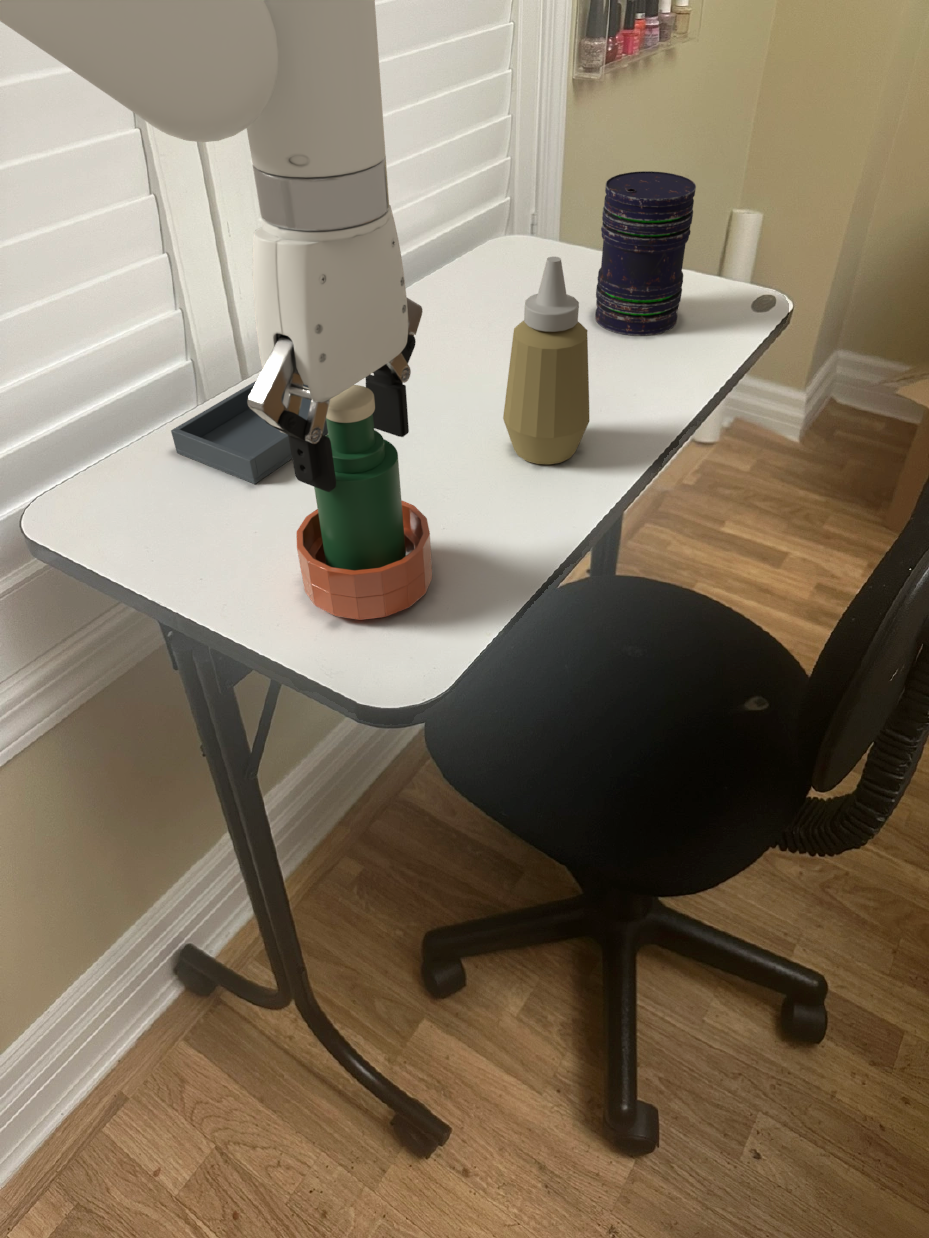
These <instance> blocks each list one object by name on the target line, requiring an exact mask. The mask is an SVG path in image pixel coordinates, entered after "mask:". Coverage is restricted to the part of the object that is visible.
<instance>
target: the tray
mask: <svg viewBox="0 0 929 1238" xmlns="http://www.w3.org/2000/svg"><path fill="white" fill-rule="evenodd" d="M256 381H257V379H256V380H255V381H253V382H251V383H250V384H248V385H246V386H245V387H243V388H241V389H239V390H238V391H236V392H234V393H233V394H231V395H229V396H227V397H226V398H224V399H222V400H220V401H219V402H217V403H215V404H214V405H212V406H210V407H208V408H206V409H204V410H203V411H202V412H200V413H198V414H197V415H194V416H193V417H191V418H190V419H188V420H186V421H185V422H183V423H181V424H179V425H178V426H176V427H174V428H172V429H171V430H170V433H171V436H172V440H173V444H174V447H175V448H174V449H175V452H176V454H179V455H181V456H183V457H186V458H188V459H191V460H193V461H196V462H197V463H201V464H203V465H206V466H208V467H211V468H213V469H216V470H217V471H221V472H223V473H226V474H228V475H231V476H234V477H235V478H238V479H240V480H244V481H246V482H248V483H251V484H254V485H255V484H257V483H259V482H260V481H261V480H263V479H265V478H267V476H270V475H271V474H272V473H273V472H275V471H276V470H278V469H279V468H281V467H282V466H283V465H285V464H286V463H288V462H289V461H291V460H292V455H291V449H290V443H289V437H288V435H287V434H285V433H282V432H280V431H279V430H278V429H276V428H274V427H272V426H270V425H269V424H267V423H266V422H265V419H262V418H261V417H260V416H259V415H258V414H256V413H255V412H254V411H253V410H252V409H250V408H249V406H248V403H247V401H248V397H249V395H250V393H251V391H252V389H253V387H254V385H255V383H256ZM303 386H304V387H307V388H308V385H304V384H303ZM284 394H285V391H284V393H283V395H282V403H283V398H284ZM310 404H311V400H308V399H305V398H302V402H301V407H300V411H299V416H301V417H302V418H304V419H306V420H307V417H308V413H309V409H310ZM322 435H324V436H327V435H328V429H327V422H326V421H325V425H324V429H323V434H322Z"/></svg>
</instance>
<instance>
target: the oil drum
mask: <svg viewBox="0 0 929 1238" xmlns="http://www.w3.org/2000/svg"><path fill="white" fill-rule="evenodd" d="M604 188H605V189H604V192H605V193H604V194H605V196H604V201H603V203H604V204H603V208H602V212H601V213H602V216H601V221H602V225H601V228H600V231H601V238H602V251H601V252H602V253H601V262H600V263H601V264H600V268H599V269H598V273H597V284H596V290H595V291H596V292H595V298H596V301H595V302H596V303H595V306H596V309H595V313H594V319H595V322H596V323H597V324H598V325H599V326H600V327H602V328H603V329H605V330H607V331H610V332H611V333H616V334H619V335H624V336H634V337H642V336H643V337H645V336H646V337H647V336H655V335H661V334H663V333H666V332H668V331H670V330H671V329H673V328H674V327H675V326H676V324H677V322H678V321H677V320H678V310H679V308H680V303H681V300H682V293H683V283H684V272H683V264H684V258H685V257H684V256H685V249H686V244H687V243H688V241H689V239H690V236H691V227H692V223H693V216H694V204H695V203H694V202H695V199H694V197H695V196H696V190H697V185H696V183H695V182H694V181H693V180H692V179H690V178H688V177H685V176H683V175H680V174H676V173H672V172H671V173H670V172H664V171H653V170H652V171H651V170H649V171H648V170H645V171H644V170H643V171H631V172H624V173H619V174H616V175H613V176H611V177H610V178H608V179H607V180H606V182H605V187H604Z"/></svg>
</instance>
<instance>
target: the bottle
mask: <svg viewBox="0 0 929 1238" xmlns="http://www.w3.org/2000/svg"><path fill="white" fill-rule="evenodd" d="M374 410H375V401H374V394H373V392H372V391H371V390H370V389H368V388H366V386H364V385H359V384H354V385H353V386H351V387H350V388H348V389H346V390H345V391H343V392H342V393H340V394H338V395H337V396H335V397H333V398H331V399H330V403H329V407H328V412H327V416H326V422H327V429H328V434H327V435H326V436H327V437H328V438H330V441H331V447H332V455H333V462H334V470H335V477H336V487H335V488H334V489H333V490H332V491H330V492H327V491H324V490H321V489H319V488H316V487H314V486H313V488H314V494H315V495H314V496H315V499H316V500H315V501H316V507H317V508H316V509H318V515H319V521H320V528H321V534H322V541H323V547H324V553H325V560H326V565H328V566H330V567H334V568H341V569H348V570H364V569H373V568H380V567H383V566H386V565H388V564H391V563H394V562H396V561H399V560H402V559H403V558H404V557H405V556H406V551H405V539H404V526H403V513H402V501H403V500H402V489H401V488H402V487H401V478H400V477H401V474H400V465H399V464H400V463H399V452H398V450H397V448H396V446H395V445H394V444H393V443H392V442H390V441H389V440H386V439H384V437H383V435H382V434H381V433H380V432H378V430H376V429H375V428H374V421H373V412H374Z"/></svg>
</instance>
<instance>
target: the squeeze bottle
mask: <svg viewBox="0 0 929 1238" xmlns="http://www.w3.org/2000/svg"><path fill="white" fill-rule="evenodd" d="M579 308H580V302H579V301H578V299H576V297H574V296H573V295H570V294H568V293H567V289H566V282H565V275H564V271H563V262H562V257H559V256H549V257H547V258H546V261H545V264H544V269H543V273H542V277H541V280H540V284H539V289H538V292H537V293H536V294H532V295H530V296H529V297H528V298H527V299H525V301H524V311H523V320H522V321H521V322H519V324H517V325H516V326H515V327H514V328H513V333H512V342H511V350H510V357H509V367H508V374H507V383H506V391H505V399H504V400H505V401H504V407H503V416H502V419H503V422H504V426H505V427H506V431H507V434H508V436H509V440H510V442H511V445H512V448H513V451H514V452H515V454H516V455H517V456H518V457H519V458H521V459H522V460H524V461H526V462H528V463H532V464H537V465H556V464H560V463H563V462H565V461H567V460H569V459H571V458H572V457H573V455H574V454H575V453H576V451H577V449H578V447H579V445H580V442H581V440H582V439H583V437H584V434H585V433H586V430H587V428H588V426H589V424H590V385H589V383H590V382H589V377H590V376H589V346H588V345H589V342H588V329H587V328H586V327H585V326H584V325H583V324H582V323H581V322H580V321H579Z"/></svg>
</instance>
